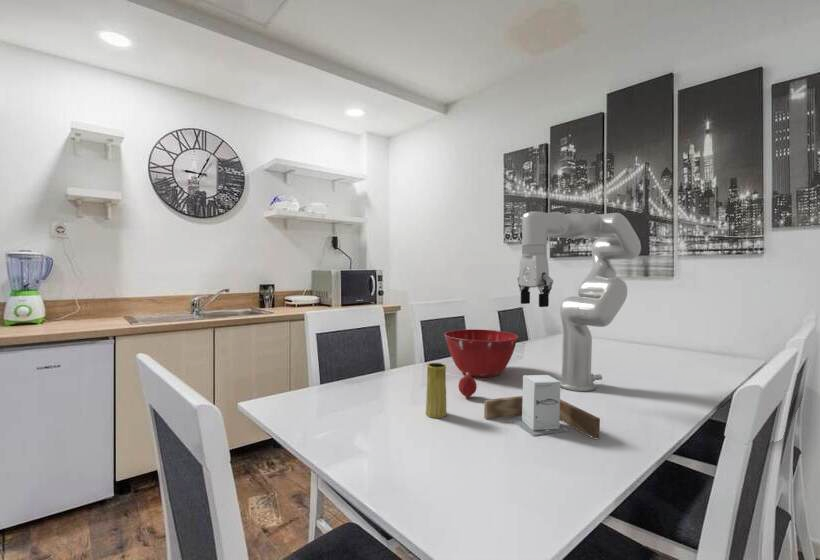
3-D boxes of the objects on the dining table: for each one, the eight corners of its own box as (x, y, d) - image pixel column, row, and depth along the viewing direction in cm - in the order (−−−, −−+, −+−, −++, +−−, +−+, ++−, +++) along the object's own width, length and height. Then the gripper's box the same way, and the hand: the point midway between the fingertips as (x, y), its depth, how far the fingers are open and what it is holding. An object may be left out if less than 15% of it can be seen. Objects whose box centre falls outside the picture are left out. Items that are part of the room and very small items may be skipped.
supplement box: (532, 431, 105) (533, 382, 105) (521, 420, 113) (522, 374, 112) (560, 430, 106) (561, 381, 106) (547, 419, 114) (548, 373, 113)
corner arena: (547, 410, 122) (547, 393, 122) (599, 438, 102) (599, 418, 102) (484, 417, 116) (484, 400, 115) (526, 449, 96) (526, 428, 96)
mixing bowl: (465, 361, 183) (465, 326, 182) (528, 371, 166) (529, 332, 166) (430, 374, 160) (430, 335, 159) (499, 388, 143) (500, 343, 143)
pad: (543, 417, 116) (543, 416, 116) (567, 431, 106) (567, 430, 106) (512, 421, 113) (512, 420, 113) (533, 436, 103) (533, 434, 103)
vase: (432, 419, 114) (432, 368, 113) (421, 412, 119) (421, 363, 119) (451, 416, 117) (451, 366, 116) (439, 409, 122) (440, 361, 122)
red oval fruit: (476, 401, 130) (476, 375, 129) (457, 399, 131) (457, 374, 130) (476, 395, 135) (477, 371, 135) (459, 394, 136) (459, 370, 136)
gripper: (509, 251, 138) (509, 303, 139) (541, 250, 121) (540, 308, 122) (528, 251, 140) (528, 302, 141) (562, 250, 124) (561, 307, 125)
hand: (534, 305), depth 132 cm, fingers open, 9 cm apart
